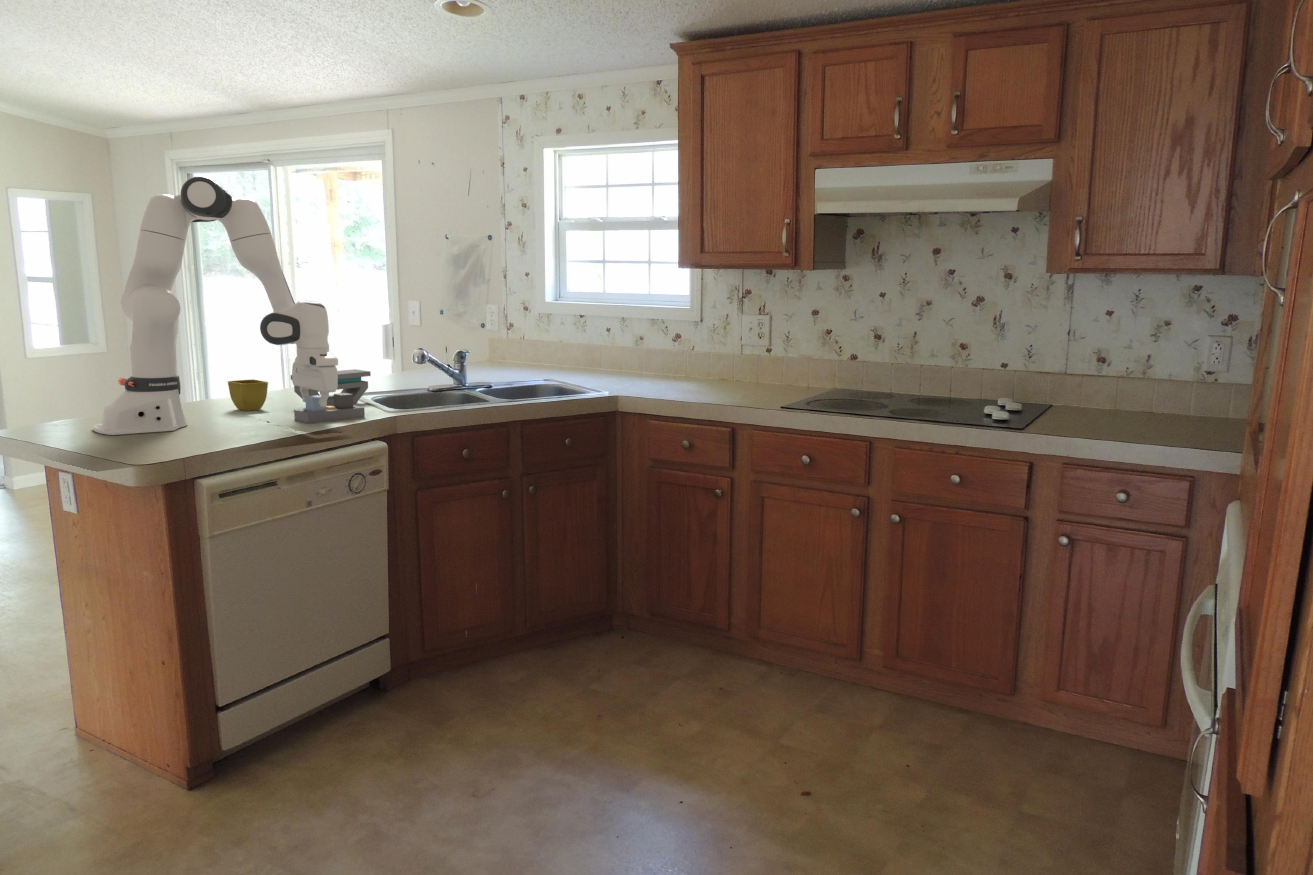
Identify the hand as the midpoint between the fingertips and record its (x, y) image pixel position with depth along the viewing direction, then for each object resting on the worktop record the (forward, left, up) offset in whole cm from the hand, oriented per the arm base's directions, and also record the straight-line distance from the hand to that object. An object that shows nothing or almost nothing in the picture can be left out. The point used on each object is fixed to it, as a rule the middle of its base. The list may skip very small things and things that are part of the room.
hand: (314, 404), depth 260 cm
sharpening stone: (+21, +27, -6) cm, 35 cm away
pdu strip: (+5, 0, -6) cm, 7 cm away
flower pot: (-3, +35, -6) cm, 36 cm away
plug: (0, 0, -5) cm, 5 cm away
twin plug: (+9, 0, -5) cm, 10 cm away
